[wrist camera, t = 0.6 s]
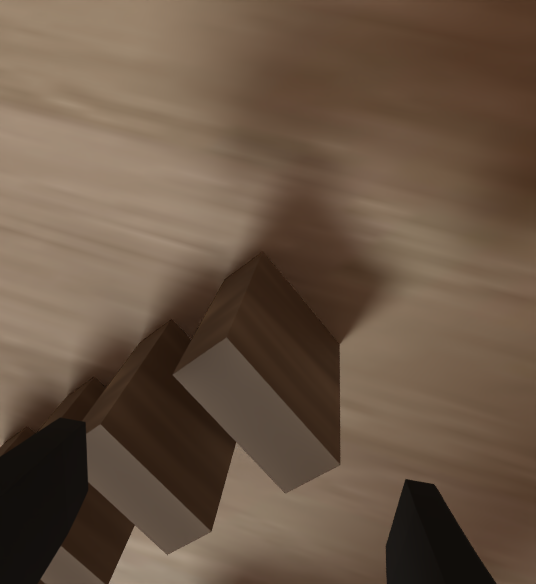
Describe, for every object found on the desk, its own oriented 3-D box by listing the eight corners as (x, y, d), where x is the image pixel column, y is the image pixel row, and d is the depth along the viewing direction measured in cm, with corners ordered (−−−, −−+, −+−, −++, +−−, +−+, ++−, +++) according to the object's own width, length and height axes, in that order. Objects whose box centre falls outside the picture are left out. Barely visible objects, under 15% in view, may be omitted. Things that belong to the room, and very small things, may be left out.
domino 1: (94, 376, 23) (0, 493, 17) (168, 450, 24) (107, 586, 18) (66, 397, 24) (-34, 517, 17) (139, 468, 25) (71, 604, 18)
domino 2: (171, 319, 21) (100, 424, 15) (247, 401, 22) (211, 531, 16) (139, 343, 22) (57, 453, 15) (214, 422, 23) (166, 554, 17)
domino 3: (262, 251, 19) (226, 337, 13) (339, 344, 21) (340, 464, 14) (224, 280, 20) (172, 374, 14) (300, 368, 21) (285, 493, 15)
